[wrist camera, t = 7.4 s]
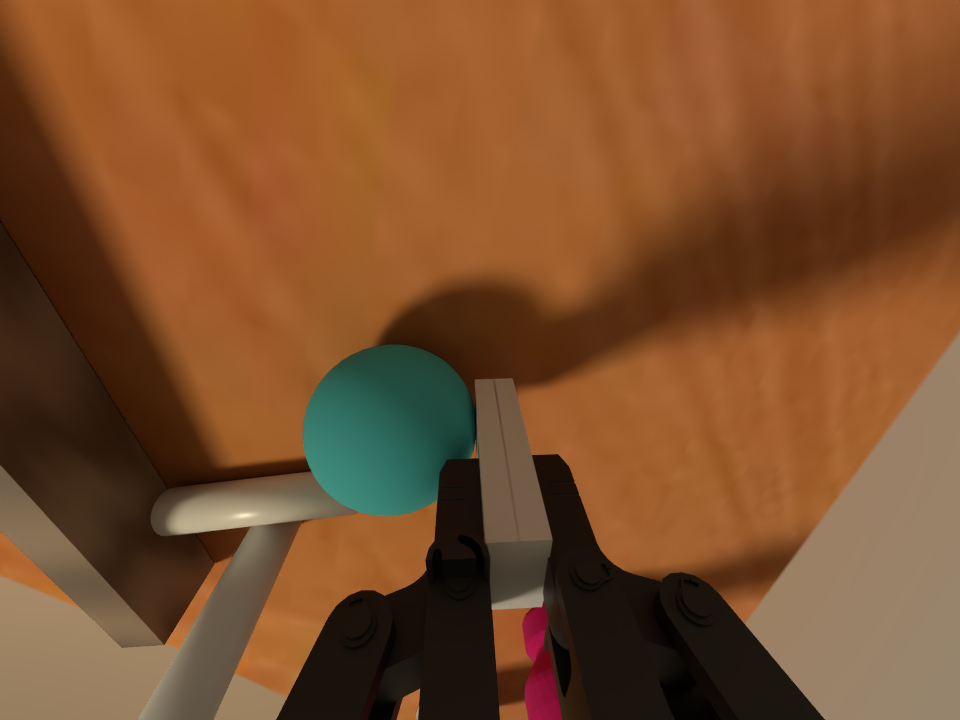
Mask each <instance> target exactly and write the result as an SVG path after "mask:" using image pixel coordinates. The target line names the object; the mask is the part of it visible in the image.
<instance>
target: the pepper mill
mask: <svg viewBox="0 0 960 720" xmlns="http://www.w3.org/2000/svg"><path fill="white" fill-rule="evenodd" d="M547 619H548V617H547V612H546V607H545V603H543V605H542V607H535V608H533V609H532V610H531V611H530V612H529V613H528V614H527V615H526V616H525V618H524V620H523V624H522V627H523V634H524V641H525V648H526V653H527V655H528V656H529V657H530V658H531V659H532V660H533V661H535V663H534V665H533V667H532V669H531V671H530V673H529V676H528V679H527V681H526V685H525V702H526V708H527V713H528V718H529V720H562V716H561V710H560V705H559V699H558V694H557V688H556V683H555V678H554V672H553V667H552V661H551V656H550V650H549V651H544V636H545V630H546V625H547Z"/></svg>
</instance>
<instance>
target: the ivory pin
mask: <svg viewBox="0 0 960 720" xmlns="http://www.w3.org/2000/svg"><path fill="white" fill-rule="evenodd" d="M357 512H358V511H355V510H352V509H350V508H348V507H346V506H344V505H343V504H341V503H339V502H338V501H336V500H335V499H334V498H332V497H331V496H330V495H329V494H328V493H327V492H326V491H325V490H324V489H323V488H322V487H321V486H320V484H319V483H318V481H317V480H316V478H315V477H314V475H313V473H312V471H310V472H302V473H293V474H285V475H276V476H267V477H259V478H250V479H242V480H233V481H225V482H216V483H208V484H199V485H191V486H182V487H174V488H170V489H168V490H166V491H165V492H163V493H162V494H161V495H160V496H159V497H158V499H157V500H156V502H155V503H154V505H153V508H152V511H151V525H152V528H153V530H154V531H155V532H156V533H157V534H158V535H161V536H172V535H181V534H189V533H198V532H207V531H215V530H224V529H232V528H241V527H249V526H258V525H267V524H275V523H284V522H292V521H301V520H309V519H318V518H327V517H335V516H344V515H352V514H356V513H357Z"/></svg>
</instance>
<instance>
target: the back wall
mask: <svg viewBox="0 0 960 720" xmlns="http://www.w3.org/2000/svg"><path fill="white" fill-rule="evenodd" d="M166 490H168V489H167V488H166V486H165V484H164V483H163V481H162V480H161V478H160V476H159V475H158V473H157V472H156V470H155V468H154V467H153V465H152V464H151V462H150V460H149V459H148V457H147V456H146V454H145V452H144V451H143V449H142V448H141V446H140V444H139V443H138V441H137V440H136V438H135V436H134V435H133V433H132V432H131V430H130V428H129V427H128V425H127V424H126V422H125V420H124V419H123V417H122V416H121V414H120V412H119V411H118V409H117V408H116V406H115V404H114V403H113V401H112V400H111V398H110V396H109V395H108V393H107V392H106V390H105V388H104V387H103V385H102V384H101V382H100V380H99V379H98V377H97V376H96V374H95V372H94V371H93V369H92V368H91V366H90V364H89V363H88V361H87V360H86V358H85V356H84V355H83V353H82V352H81V350H80V348H79V347H78V345H77V344H76V342H75V340H74V339H73V337H72V336H71V334H70V332H69V331H68V329H67V328H66V326H65V324H64V323H63V321H62V320H61V318H60V316H59V315H58V313H57V312H56V310H55V308H54V307H53V305H52V304H51V302H50V300H49V299H48V297H47V296H46V294H45V292H44V291H43V289H42V288H41V286H40V284H39V283H38V281H37V280H36V278H35V277H34V275H33V273H32V272H31V270H30V269H29V267H28V265H27V264H26V262H25V261H24V259H23V257H22V256H21V254H20V253H19V251H18V249H17V248H16V246H15V245H14V243H13V241H12V240H11V238H10V237H9V235H8V233H7V232H6V230H5V229H4V227H3V225H2V224H1V222H0V531H1V532H2V533H3V534H4V535H5V536H6V537H7V538H8V539H9V540H10V541H11V542H12V543H13V544H14V545H16V546H17V547H18V548H19V549H20V550H21V551H22V552H23V553H24V554H25V555H26V556H27V557H28V558H29V559H30V560H31V561H32V562H33V563H34V564H35V565H36V566H37V567H38V568H39V569H41V570H42V571H43V572H44V573H45V574H46V575H47V576H48V577H49V578H50V579H51V580H52V581H53V582H54V583H55V584H56V585H57V586H58V587H59V588H60V589H61V590H62V591H63V592H64V593H66V594H67V595H68V596H69V597H70V598H71V599H72V600H73V601H74V602H75V603H76V604H77V605H78V606H79V607H80V608H81V609H82V610H83V611H84V612H85V613H86V614H88V616H89V617H91V618H92V619H93V620H94V621H95V622H96V623H97V624H98V625H99V626H100V627H101V628H102V629H103V630H104V631H105V632H106V633H108V635H109V636H110V637H111V638H112V639H113V640H114V641H115V642H117V643H118V644H119V645H120V646H121V647H122V648H124V647H140V646H155V645H165V643H166V641H167V640H168V638H169V637H170V635H171V633H172V632H173V630H174V629H175V627H176V625H177V624H178V622H179V620H180V619H181V617H182V616H183V614H184V612H185V611H186V609H187V608H188V606H189V604H190V603H191V601H192V600H193V598H194V596H195V595H196V593H197V591H198V590H199V588H200V587H201V585H202V583H203V582H204V580H205V579H206V577H207V575H208V574H209V572H210V571H211V569H212V567H213V566H214V563H213V561H212V560H211V558H210V556H209V555H208V553H207V552H206V550H205V548H204V547H203V545H202V544H201V542H200V540H199V539H198V537H197V536H196V534H195V533H189V534H181V535H172V536H161V535H158V534H157V533H156V532H155V531H154V530H153V528H152V525H151V511H152V508H153V505H154V503H155V502H156V500H157V499H158V497H159V496H160V495H161V494H162V493H163V492H165V491H166Z"/></svg>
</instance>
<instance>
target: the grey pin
mask: <svg viewBox="0 0 960 720" xmlns="http://www.w3.org/2000/svg"><path fill="white" fill-rule="evenodd" d="M301 523H302V520H301V521H292V522H284V523H275V524H267V525H258V526H251V527H250V528H249V530H248V532H247V534H246V535H245V537H244V539H243V540H242V542H241V544H240V546H239V547H238V549H237V551H236V552H235V554H234V556H233V558H232V559H231V561H230V563H229V564H228V566H227V568H226V570H225V571H224V573H223V575H222V576H221V578H220V580H219V582H218V583H217V585H216V587H215V588H214V590H213V592H212V594H211V595H210V597H209V599H208V600H207V602H206V604H205V606H204V607H203V609H202V611H201V612H200V614H199V616H198V617H197V619H196V621H195V623H194V624H193V626H192V628H191V629H190V631H189V633H188V635H187V636H186V638H185V640H184V641H183V643H182V645H181V647H180V648H179V650H178V652H177V653H176V655H175V657H174V659H173V660H172V662H171V664H170V665H169V667H168V669H167V671H166V672H165V674H164V676H163V677H162V679H161V681H160V683H159V684H158V686H157V688H156V690H155V691H154V693H153V695H152V696H151V698H150V700H149V702H148V703H147V705H146V706H145V708H144V710H143V712H142V713H141V715H140V717H139V719H138V720H214V717H215V715H216V713H217V711H218V709H219V706H220V704H221V701H222V699H223V697H224V695H225V693H226V691H227V688H228V686H229V684H230V682H231V679H232V677H233V675H234V673H235V670H236V668H237V666H238V664H239V661H240V659H241V657H242V655H243V652H244V650H245V648H246V646H247V644H248V641H249V639H250V637H251V635H252V632H253V630H254V628H255V626H256V623H257V621H258V619H259V617H260V614H261V612H262V610H263V608H264V605H265V603H266V601H267V599H268V596H269V594H270V592H271V590H272V588H273V585H274V583H275V581H276V579H277V576H278V574H279V572H280V570H281V567H282V565H283V563H284V561H285V558H286V556H287V554H288V552H289V549H290V547H291V545H292V543H293V540H294V538H295V536H296V534H297V532H298V529H299V527H300V525H301Z"/></svg>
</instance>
